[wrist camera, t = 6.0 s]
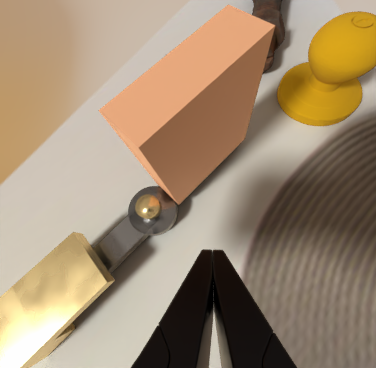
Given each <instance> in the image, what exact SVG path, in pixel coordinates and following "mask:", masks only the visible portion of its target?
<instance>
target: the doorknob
mask: <svg viewBox="0 0 376 368" xmlns="http://www.w3.org/2000/svg"><path fill="white" fill-rule="evenodd" d="M308 60H309V62H306V63H302V64H299V65H297V66H295V67H293V68H292V69H290V70H289V71H288V72H287V73H286V74H285V75H284V76H283V78H282V80H281V82H280V85H279V87H278V91H277V98H278V102H279V105H280V107H281V108H282V109H283V111H284V112H285V113H286V114H287V115H288V116H290V117H291V118H293V119H294V120H296V121H298V122H301V123H304V124H307V125H313V126H327V125H333V124H336V123H339V122H341V121H343V120H344V119H346V118H347V117H348V116H350V114H351V113H352V112H353V111H354V110H355V109H356V108H357V107H358V106H359V104H360V102H361V99H362V87H361V84H360V82H359V81H358V79H357V78H358V77H360V76H362V75H364V74H365V73H367V72H369V71H370V70H371V69H373V68H374V67H375V66H376V15H374V14H371V13H367V12H349V13H345V14H342V15H339V16H337V17H335V18H333V19H332V20H330V21H329V22H328V23H326V24H325V25H324V26H323V27H322V28H321V29H320V30H319V31H318V32H317V33H316V34H315V36H314V37H313V39H312V41H311V43H310V47H309V52H308Z"/></svg>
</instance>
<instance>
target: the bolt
mask: <svg viewBox="0 0 376 368" xmlns="http://www.w3.org/2000/svg"><path fill="white" fill-rule="evenodd" d="M281 1H282V0H253V3H254V8H253V13H252V15H253V16H255V17H257V18H260V19H262V20H264V21H266V22H269V23H271V24H273V25H275V29H274V32H273V36H272V40H271V43H270V47H269V51H268V55H267V58H266V62H265V66H264V69H263V72H264V71H266V70H268V69H269V68H270V67H271V66H272V64H273V59H274V51H275V50H276V49H277V48H278V47H279V46H280V44H281V43H282V42H283V40H284V37H285V30H284V24H283V19H282V16H281V13H280V6H281Z"/></svg>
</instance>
